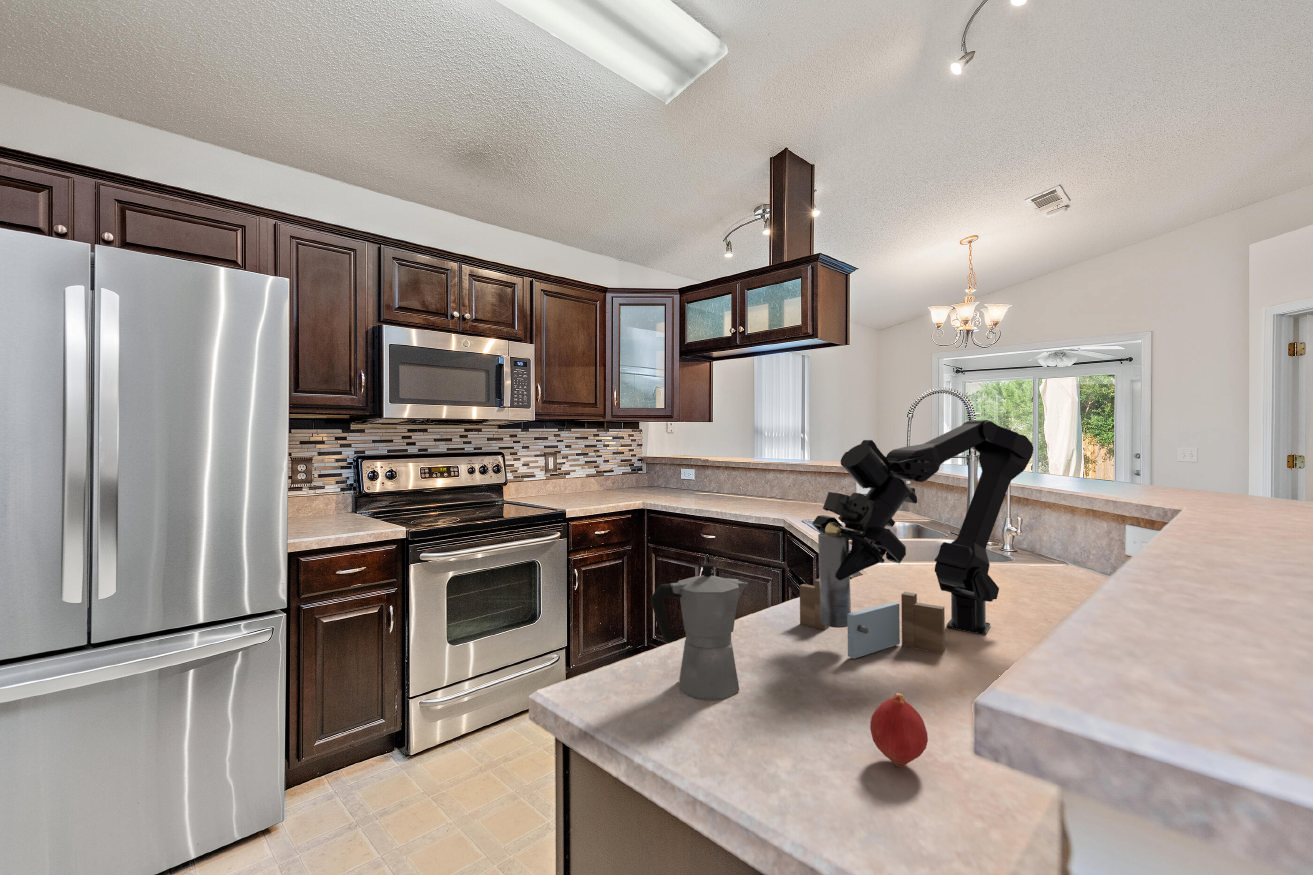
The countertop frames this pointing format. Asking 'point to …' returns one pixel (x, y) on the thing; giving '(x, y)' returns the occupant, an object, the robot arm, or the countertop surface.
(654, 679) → the countertop surface
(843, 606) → the grey tall cylinder
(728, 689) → the coffeepot
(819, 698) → the countertop surface
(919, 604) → the fence
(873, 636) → the gate
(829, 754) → the countertop surface
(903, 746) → the onion
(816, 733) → the countertop surface
